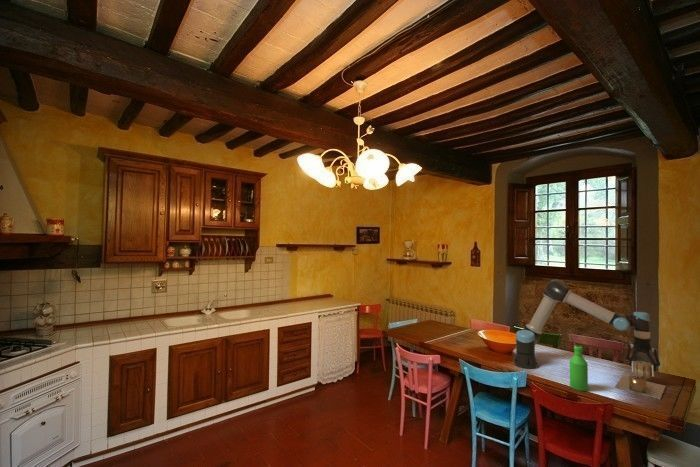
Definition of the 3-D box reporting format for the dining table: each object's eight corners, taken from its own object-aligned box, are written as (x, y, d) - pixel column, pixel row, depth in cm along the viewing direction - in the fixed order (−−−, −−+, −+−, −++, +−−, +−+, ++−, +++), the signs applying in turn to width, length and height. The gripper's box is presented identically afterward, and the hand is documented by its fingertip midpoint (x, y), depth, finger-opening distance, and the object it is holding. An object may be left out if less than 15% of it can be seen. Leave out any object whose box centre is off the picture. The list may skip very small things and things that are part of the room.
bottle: (580, 385, 202) (580, 344, 203) (591, 391, 194) (591, 348, 194) (566, 385, 202) (566, 344, 203) (576, 391, 193) (576, 348, 194)
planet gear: (653, 374, 205) (652, 363, 205) (651, 378, 199) (650, 366, 199) (635, 370, 211) (634, 359, 212) (632, 373, 206) (632, 362, 206)
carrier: (660, 400, 183) (659, 385, 184) (614, 387, 199) (614, 374, 199) (665, 387, 200) (665, 373, 200) (623, 376, 215) (623, 364, 215)
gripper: (666, 340, 200) (667, 377, 200) (621, 332, 216) (622, 367, 216) (664, 342, 195) (665, 380, 195) (619, 334, 212) (619, 370, 211)
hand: (642, 373), depth 205 cm, fingers closed on planet gear, 9 cm apart
